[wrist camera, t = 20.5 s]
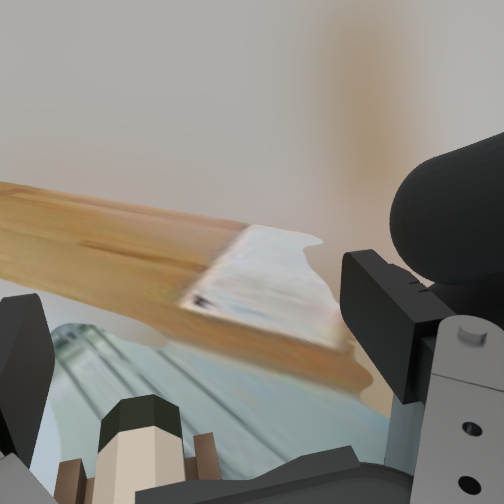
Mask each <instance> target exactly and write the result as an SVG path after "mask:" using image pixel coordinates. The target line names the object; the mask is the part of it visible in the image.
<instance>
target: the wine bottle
mask: <svg viewBox="0 0 504 504" xmlns="http://www.w3.org/2000/svg"><path fill="white" fill-rule="evenodd" d="M182 481H186V471H185V460H184V448H183V437H182V427H181V420H180V413H179V407H178V406H176V405H174V404H172V403H170V402H168V401H166V400H164V399H162V398H160V397H158V396H156V395H154V394H152V395H146V396H140V397H134V398H128V399H122V400H120V401H119V402H118V403H117V405H116V406H115V407H114V408H113V409H112V410H111V411H110V412H109V413H108V414H107V415H106V416H105V417H104V418H103V419H102V421H101V430H100V438H99V447H98V456H97V465H96V473H95V482H94V491H93V499H92V504H135V491H140V490H144V489H149V488H154V487H158V486H163V485H168V484H172V483H177V482H182Z"/></svg>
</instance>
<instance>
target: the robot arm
mask: <svg viewBox="0 0 504 504" xmlns="http://www.w3.org/2000/svg"><path fill="white" fill-rule="evenodd" d="M390 233H391V238H392V241H393V244H394V246H395V248H396V250H397V252H398V254H399V256H400V257H401V258H402V259H403V261H404V262H405V263H406V264H407V265H408V266H409V267H410V268H411V269H412V270H413V271H414V272H416V273H418V274H419V275H421V276H422V277H424V278H426V279H428V280H430V281H433V282H435V283H434V284H433V285H431V286H430V287H428V288H427V287H426V286H425V285H423V284H422V283H420V281H419V280H418V279H417V278H416V277H415V276H413V275H412V274H411V273H410V272H409V271H407V270H405V269H403V268H400V267H399V266H396V265H394V264H388V263H387V262H386V261H385V260H384V259H382V258H381V257H380V256H379V255H378V254H377V253H376V252H375V251H374V250H372V249H368V250H361V251H353V252H347V253H345V254H344V256H343V259H342V272H341V289H340V309H341V314H342V317H343V320H344V322H345V323H346V325H347V326H348V328H349V329H350V330H351V332H352V333H353V335H354V336H355V338H356V339H357V340H358V342H359V343H360V345H361V346H362V348H363V349H364V350H365V352H366V353H367V355H368V356H369V358H370V359H371V360H372V362H373V363H374V365H375V366H376V368H377V369H378V370H379V372H380V373H381V375H382V376H383V378H384V379H385V380H386V382H387V383H388V385H389V386H390V388H391V389H392V390H393V392H394V395H393V402H392V409H391V417H390V424H389V431H388V439H387V446H386V453H385V458H384V465H380V464H374V463H366V462H359V461H358V459H357V457H356V455H355V453H354V451H353V449H352V447H351V445H350V446H345V447H341V448H336V449H331V450H327V451H322V452H317V453H313V454H308V455H303V456H300V457H298V458H296V459H294V460H292V461H290V462H288V463H286V464H284V465H281V466H279V467H277V468H275V469H273V470H271V471H269V472H267V473H265V474H263V475H261V476H259V477H257V478H254V479H251V480H196V479H191V480H187V481H182V482H177V483H172V484H168V485H163V486H158V487H154V488H149V489H144V490H140V491H135V504H504V132H503V133H500V134H498V135H495V136H492V137H490V138H487V139H484V140H482V141H479V142H477V143H474V144H471V145H468V146H466V147H463V148H460V149H457V150H454V151H451V152H448V153H445V154H443V155H439V156H437V157H434V158H431V159H429V160H427V161H425V162H423V163H422V164H420V165H419V166H417V167H416V168H415V169H414V170H413V171H412V172H411V173H410V174H409V175H408V176H407V177H406V178H405V180H404V181H403V182H402V184H401V185H400V187H399V189H398V191H397V193H396V195H395V198H394V201H393V203H392V207H391V212H390ZM54 366H55V354H54V347H53V342H52V339H51V335H50V332H49V328H48V325H47V321H46V317H45V314H44V310H43V307H42V303H41V300H40V298H39V296H38V295H37V294H36V293H34V294H26V295H19V296H12V297H4V298H3V299H2V300H1V302H0V504H58V502H57V501H56V500H55V499H54V498H53V497H52V496H51V495H50V494H49V492H48V491H47V490H46V489H45V488H44V487H43V485H42V484H41V483H40V482H39V481H38V480H37V479H36V477H35V476H34V475H33V474H32V473H31V472H30V471H29V468H30V464H31V460H32V456H33V452H34V448H35V444H36V440H37V436H38V432H39V428H40V424H41V420H42V416H43V412H44V407H45V404H46V400H47V396H48V392H49V388H50V384H51V380H52V376H53V372H54Z"/></svg>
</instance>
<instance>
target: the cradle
mask: <svg viewBox="0 0 504 504" xmlns="http://www.w3.org/2000/svg"><path fill="white" fill-rule="evenodd" d="M193 438H194V446H195V454H196V457H192V458H187V459H184V460H185V471H186V481H187V480H191V479H196V480H221V475H220V470H219V464H218V459H217V453H216V448H215V443H214V437H213V432H212V433H207V434H202V435H197V436H193ZM94 482H95V477H94V478H89V479H87V477H86V473H85V470H84V466H83V463H82V459H81V458H80V459H75V460H70V461H65V462H60V464H59V469H58V475H57V481H56V486H55V492H54V497H53V498H54V499H55V500H56V501H57V502H58V504H92V499H93V491H94Z"/></svg>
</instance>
